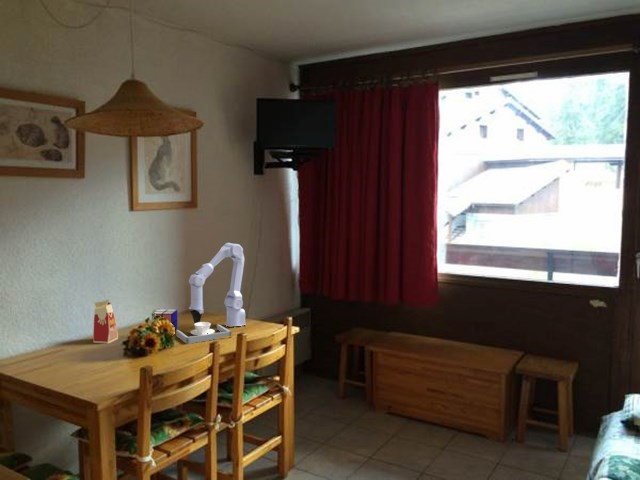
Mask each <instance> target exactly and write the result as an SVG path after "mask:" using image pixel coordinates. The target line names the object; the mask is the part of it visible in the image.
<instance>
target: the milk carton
mask: <svg viewBox="0 0 640 480" xmlns="http://www.w3.org/2000/svg"><path fill="white" fill-rule="evenodd" d="M109 300H110V299H106V300H102V301H96V302H95V301H94V302H93V304H94V311H93V312H94V313H93V314H94V315H93V329H92V332H93V335H92V337H93V338H92V339H93V341H92V342H93V343H95V344H107V345H108V344H110V343H113V342H115V341H116V340H118V339H119V334H118V326H117V322H116V321H117V320H116V317H115V312H114V309H113V305H112V303H111V302H110V301H109Z"/></svg>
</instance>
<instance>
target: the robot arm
mask: <svg viewBox="0 0 640 480" xmlns="http://www.w3.org/2000/svg"><path fill="white" fill-rule="evenodd" d="M225 258H230V259H231V260H232V261H233V264H232V265H233V266H232V271H231V279H230V287H229V291H228V292H227V293H226V296H225V298H224V300H223V304H224V306H225V307H226V323H224V324H223V326H225V325H226V326H225V327H227V326H241V327H243V326H242V325H246V311H245V309H244V308H242V307H243V305H244V302H243V295H242V292H241V286H242V280H243V273H244V268H245V267H244V266H245V254H244V248H243V247H242V246H241V244H238V243H231V242H226V243H225V244H223V246H221V247H220V250H219V251H218V252H217V253H216V254H215V255H214V257H213V258H212V259H211V260H210V261H209V262H208V263H203V264H202V265H201V267H200V268H199V269H198V270H197V271H195V272H194V274H191V275H190V277H189V279H188V284H189V285H190V304H189V305H190V306H188V309H189V310H190V315H192V316H191V317H192V319H193V323H194V324H195V323H198V322H201V320H202V316H203V314H204V311H205V310H204V305H203V304H204V302H203V301H204V300H203V294H204V293H203V286H204V285H205V282H206V279H207V278H209V276H211V275H212V273H214V269H215V267H216V266H217V265H218V264H219V263H221V261H223V260H224V259H225ZM194 324H193V325H194Z"/></svg>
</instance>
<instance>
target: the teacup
mask: <svg viewBox="0 0 640 480" xmlns="http://www.w3.org/2000/svg"><path fill="white" fill-rule="evenodd" d="M193 325H194V328H195V329H193V330H190V334H192V335H193V336H198V335H205V334H207V333H208V334H213V333H216V331H215V329H213V328H210V327H211V325H212V323H211V322H208V321H200V322H198V323H195V324H193Z"/></svg>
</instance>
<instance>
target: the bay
mask: <svg viewBox="0 0 640 480" xmlns="http://www.w3.org/2000/svg"><path fill="white" fill-rule="evenodd" d="M217 330H219V331H221V332H219V331H218V332H214V333H212V334H205V335H191V336H188V335H186V334H185V333H184V332H183V331H182V330H179V329H176V330H175V336H176V337H177V338H180V339H179V340H180V341H182V342H183V343H185V344H186V345H188V344H189V345H191V344H196V342H198V343H203V342H202V341H205V342H209V340H211V341H214V340H213V339H217V338H220V337H226V336H231V337H232V331H231V330H230V329H228V328H226V327H224V325H223V326H222V325H221V324H216V331H217Z"/></svg>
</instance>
